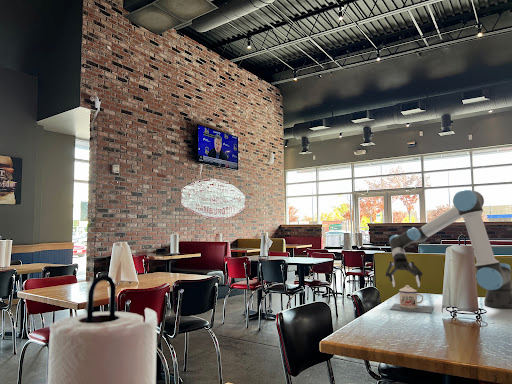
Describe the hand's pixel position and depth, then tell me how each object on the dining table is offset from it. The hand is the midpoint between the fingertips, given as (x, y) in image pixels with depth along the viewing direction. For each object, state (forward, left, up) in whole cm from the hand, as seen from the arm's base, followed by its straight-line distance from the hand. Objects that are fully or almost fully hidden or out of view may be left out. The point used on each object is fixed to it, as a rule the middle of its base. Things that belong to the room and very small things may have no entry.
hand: (406, 285), depth 217 cm
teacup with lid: (-3, +10, -10) cm, 14 cm away
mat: (-3, +10, -11) cm, 15 cm away
